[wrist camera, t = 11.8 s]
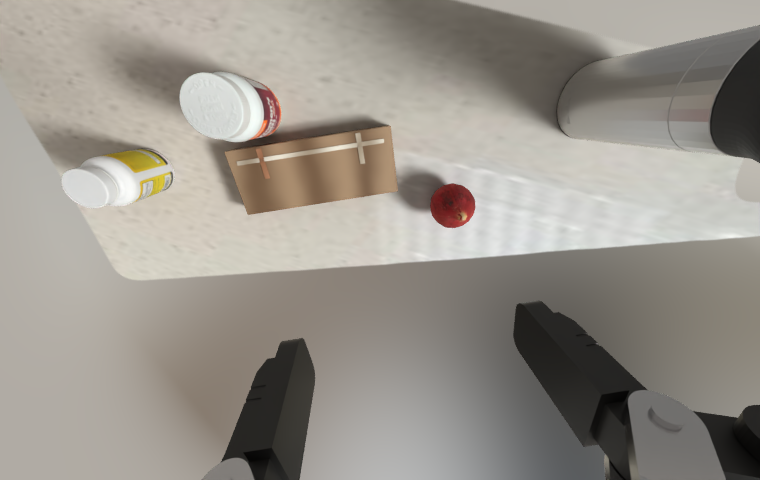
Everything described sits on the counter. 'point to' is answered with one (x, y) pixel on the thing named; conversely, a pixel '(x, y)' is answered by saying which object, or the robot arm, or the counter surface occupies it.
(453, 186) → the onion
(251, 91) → the pill bottle
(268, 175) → the brown banded box
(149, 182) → the supplement bottle
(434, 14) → the counter surface
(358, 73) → the counter surface
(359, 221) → the counter surface
